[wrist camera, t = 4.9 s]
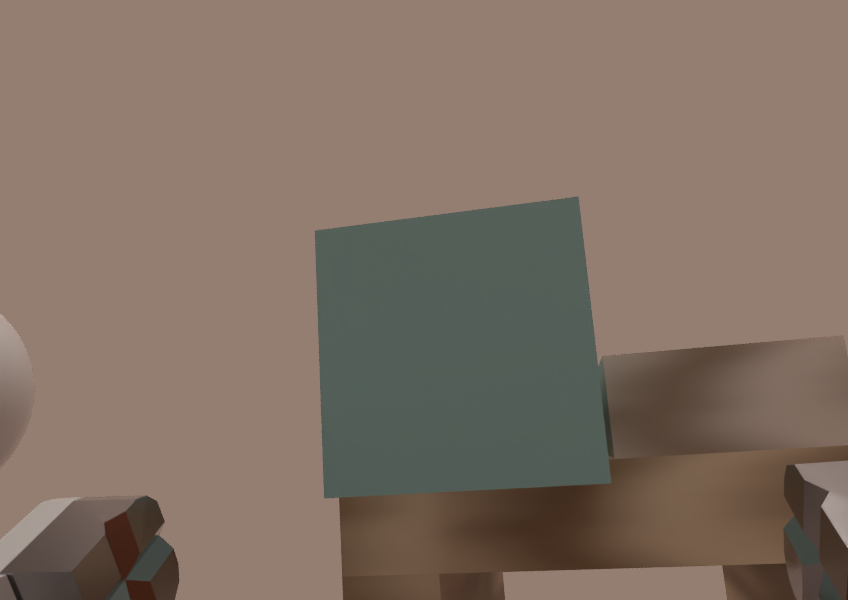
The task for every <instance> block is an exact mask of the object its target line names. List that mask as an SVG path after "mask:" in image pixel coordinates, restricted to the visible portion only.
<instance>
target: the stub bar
mask: <svg viewBox="0 0 848 600" xmlns="http://www.w3.org/2000/svg"><path fill="white" fill-rule="evenodd" d="M315 246H316V274H317V303H318V333H319V358H320V359H319V361H320V390H321V416H322V417H321V418H322V447H323V473H324V474H323V476H324V498H340V497H360V496H379V495H398V494H417V493H436V492H455V491H474V490H493V489H512V488H531V487H551V486H570V485H589V484H608V483H611V475H610V466H609V458H608V449H607V440H606V432H605V423H604V414H603V406H602V397H601V388H600V380H599V371H598V364H597V354H596V345H595V337H594V328H593V319H592V310H591V302H590V294H589V284H588V276H587V267H586V259H585V250H584V241H583V233H582V225H581V215H580V206H579V198H578V197H572V198H565V199H557V200H549V201H541V202H533V203H526V204H518V205H510V206H503V207H495V208H487V209H479V210H472V211H464V212H456V213H448V214H441V215H433V216H425V217H417V218H409V219H402V220H394V221H386V222H378V223H371V224H363V225H356V226H347V227H340V228H333V229H324V230H317V231H315Z"/></svg>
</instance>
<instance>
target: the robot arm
mask: <svg viewBox="0 0 848 600" xmlns="http://www.w3.org/2000/svg"><path fill="white" fill-rule="evenodd" d="M34 393H35V386H34V375H33V369H32V365H31V361H30V358H29V355H28V353H27V350H26V347H25V346H24V344H23V342H22V340H21V338H20V337H19V335H18V333H17V332H16V331H15V329H14V328H13V326H12V325H11V324H10V323H9V322H8V321H7V320H6V319H5V318H4V316H2V315H1V314H0V469H1V468H2V467H3V465H4V464H5V463H6V462H7V460H8V459H9V458H10V457H11V455H12V454H13V452H14V451H15V449H16V448H17V446H18V445H19V443H20V441H21V439H22V437H23V435H24V433H25V431H26V428H27V425H28V423H29V420H30V417H31V413H32V408H33V403H34ZM784 497H785V499H786V501H787V503H788V505H789V506H790V508H791V510H792V512H793V514H794V516H793V517H792V518H791V520H790V521H789V522H788V523H787V524H786V525H785V527H784V528H783V532H784V555H785V561H786V567H787V573H788V578H789V581H790V584H791V587H792V590H793V593H794V596H795V598H796V600H848V461H833V462H819V463H805V464H790V465H787V466H786V471H785V475H784ZM164 522H165V521H164V519H163V516H162V513H161V510H160V508H159V505H158V503H157V501H156V500H154V499H152V498H150V497H148V496H113V497H85V498H81V497H74V498H60V499H52V500H48V501H44V502H42V503H41V504H39V505H38V506H37V507H36V508H35V509H34V510H33V511H32V512H31V513H29V514H28V515H27V516H26V517H25V518H24V519H23V520H22V521H21V522H19V523H18V524H17V525H16V526H15V527H14V528H13V529H12V530H11V531H10V532H8V533H7V534H6V535H5V536H4V537H3V538H2V539H1V540H0V600H175V596H176V592H177V588H178V584H179V569H178V561H177V558H176V555H175V552H174V549H173V548H172V547H171V546H170V545H169V544H168V543H167V542H166V541H165V540H164V539H163V538H161V537H160V536H159V534H160V532H161V529H162V527H163V524H164Z"/></svg>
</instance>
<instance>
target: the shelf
mask: <svg viewBox="0 0 848 600" xmlns="http://www.w3.org/2000/svg"><path fill="white" fill-rule="evenodd" d="M598 371H599V380H600V388H601V397H602V406H603V414H604V423H605V432H606V440H607V449H608V458H609V466H610V475H611V483H608V484H589V485H570V486H551V487H531V488H512V489H493V490H474V491H455V492H436V493H417V494H398V495H379V496H360V497H340V498H339V503H340V528H341V529H340V530H341V555H342V579H343V600H505V596H504V583H503V572H514V571H548V570H580V569H612V568H614V569H615V568H647V567H648V568H649V567H682V566H714V565H715V566H716V565H722V566H723V573H724V580H725V587H726V594H727V600H796V598H795V596H794V593H793V590H792V587H791V584H790V581H789V578H788V573H787V567H786V561H785V555H784V532H783V528H784V527H785V525H786V524H787V523H788V522H789V521H790V520H791V518H792V517H793V516H794V514H793V512H792V510H791V508H790V506H789V505H788V503H787V501H786V499H785V497H784V475H785V471H786V466H787V465H790V464H805V463H819V462H833V461H848V356H847V351H846V346H845V340H844V336H831V337H819V338H808V339H796V340H785V341H773V342H761V343H749V344H738V345H726V346H715V347H704V348H692V349H681V350H669V351H658V352H645V353H634V354H622V355H610V356H603V357H602V359H601V361H600V364H599V366H598Z"/></svg>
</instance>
